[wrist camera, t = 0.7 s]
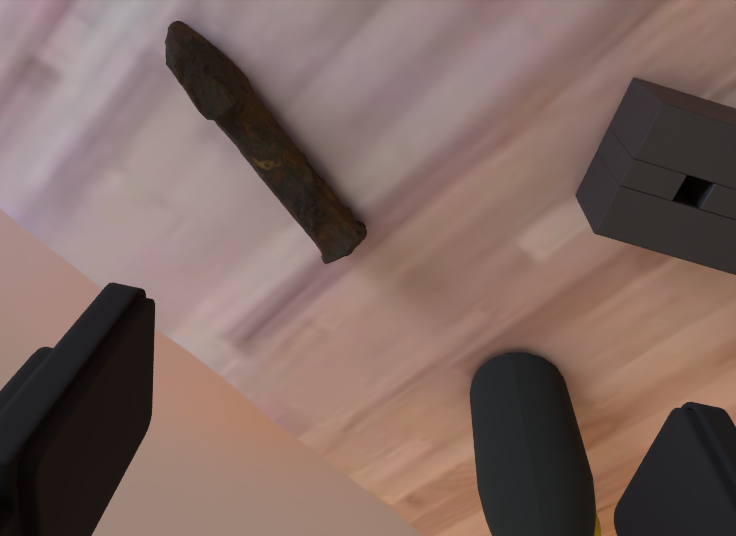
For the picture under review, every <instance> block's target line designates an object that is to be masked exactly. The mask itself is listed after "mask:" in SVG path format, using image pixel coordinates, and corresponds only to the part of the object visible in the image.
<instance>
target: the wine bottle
mask: <svg viewBox="0 0 736 536" xmlns="http://www.w3.org/2000/svg"><path fill="white" fill-rule="evenodd" d="M470 404H471V415H472V427H473V438H474V450H475V461H476V473H477V484H478V491H479V495H480V499H481V503H482V507H483V511H484V515H485V518H486V521H487V524H488V527H489V529H490V532H491V534H492V536H594V534H595V525H596V505H595V494H594V485H593V476H592V473H591V469H590V466H589V462H588V459H587V455H586V452H585V448H584V445H583V441H582V438H581V434H580V431H579V427H578V424H577V420H576V417H575V413H574V410H573V407H572V403H571V400H570V396H569V393H568V389H567V386H566V383H565V380H564V378H563V376H562V375H561V373H560V372H559V370H558V369H557V367H556V366H555V365H553V364H552V363H550V362H549V361H547V360H546V359H544V358H543V357H540V356H537V355H533V354H529V353H508V354H505V355H502V356H498V357H495V358H494V359H492V360H490V361H489V362H487V363H486V364H484V365H483V366H482V367H481V368H480V370H479V371H478V372H477V374H476V375H475V376H474V378H473V381H472V385H471V389H470Z"/></svg>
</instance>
